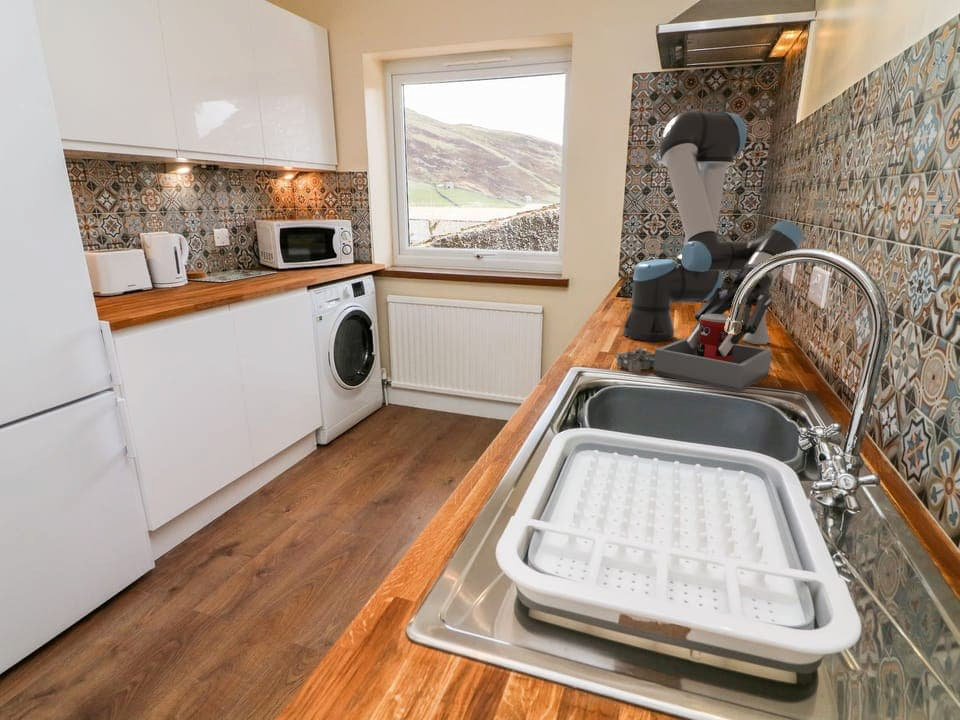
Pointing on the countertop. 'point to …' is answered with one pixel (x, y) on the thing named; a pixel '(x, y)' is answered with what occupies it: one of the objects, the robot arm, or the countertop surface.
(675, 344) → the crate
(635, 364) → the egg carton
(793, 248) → the robot arm
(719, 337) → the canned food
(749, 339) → the flask
